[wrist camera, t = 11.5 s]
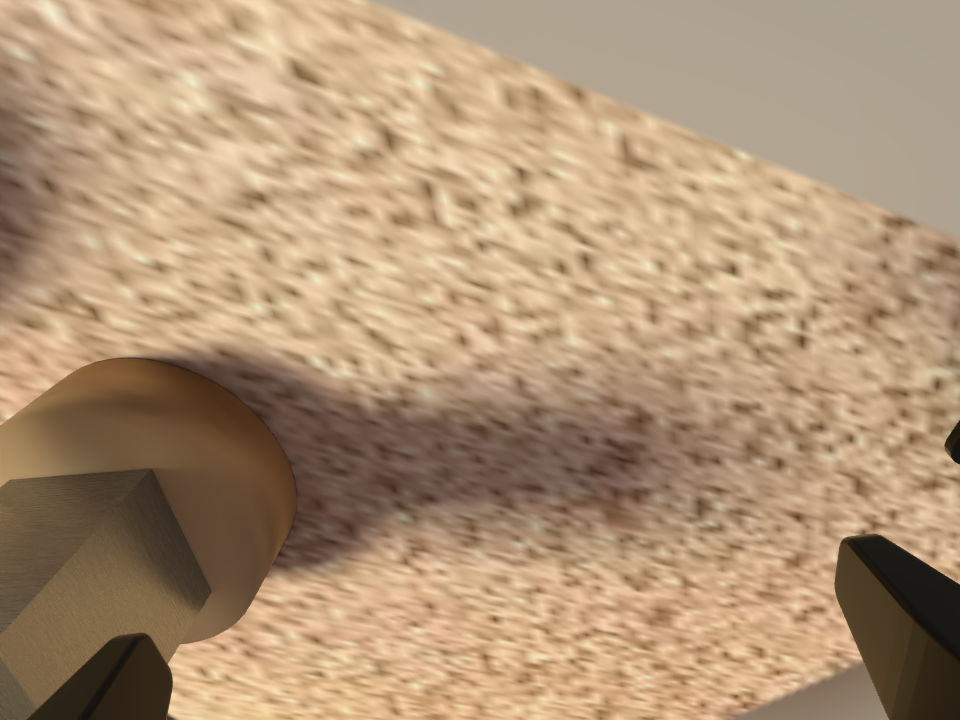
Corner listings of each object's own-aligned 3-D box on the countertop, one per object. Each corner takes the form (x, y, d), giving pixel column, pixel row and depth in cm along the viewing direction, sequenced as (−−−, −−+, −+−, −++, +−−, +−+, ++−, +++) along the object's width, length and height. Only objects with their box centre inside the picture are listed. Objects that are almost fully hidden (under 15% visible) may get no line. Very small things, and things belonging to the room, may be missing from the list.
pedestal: (306, 397, 23) (265, 458, 20) (288, 598, 28) (252, 672, 25) (24, 328, 23) (-60, 378, 20) (54, 539, 28) (-10, 605, 25)
